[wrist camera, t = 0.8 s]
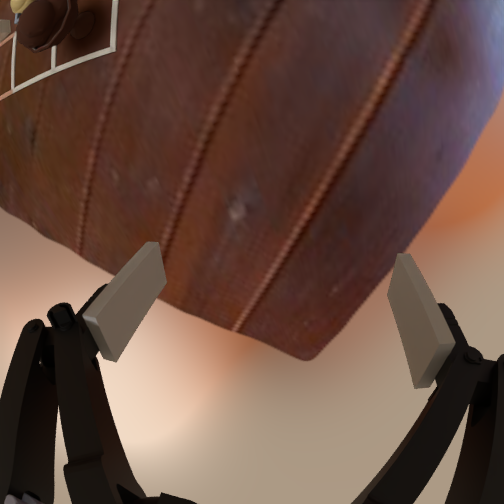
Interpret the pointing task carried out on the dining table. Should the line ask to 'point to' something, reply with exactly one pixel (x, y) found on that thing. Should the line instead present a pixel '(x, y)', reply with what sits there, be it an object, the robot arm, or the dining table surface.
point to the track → (53, 66)
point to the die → (4, 29)
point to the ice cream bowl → (51, 23)
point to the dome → (20, 5)
